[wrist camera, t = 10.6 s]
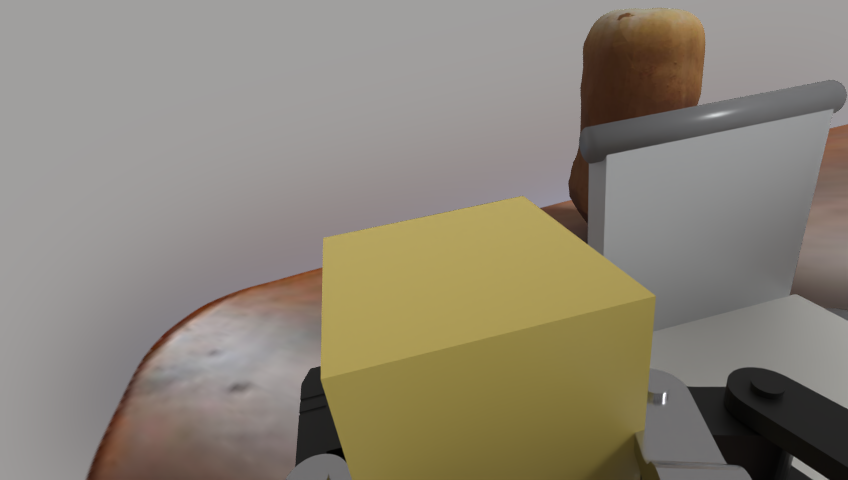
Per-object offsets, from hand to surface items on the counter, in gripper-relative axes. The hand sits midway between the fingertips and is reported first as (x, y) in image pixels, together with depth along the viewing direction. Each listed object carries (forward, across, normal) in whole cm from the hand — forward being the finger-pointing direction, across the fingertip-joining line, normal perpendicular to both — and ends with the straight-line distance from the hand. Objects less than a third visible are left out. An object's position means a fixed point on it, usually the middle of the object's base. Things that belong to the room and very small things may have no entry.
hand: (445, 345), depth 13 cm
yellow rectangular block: (-3, 0, +6) cm, 7 cm away
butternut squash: (+33, -29, +18) cm, 48 cm away
